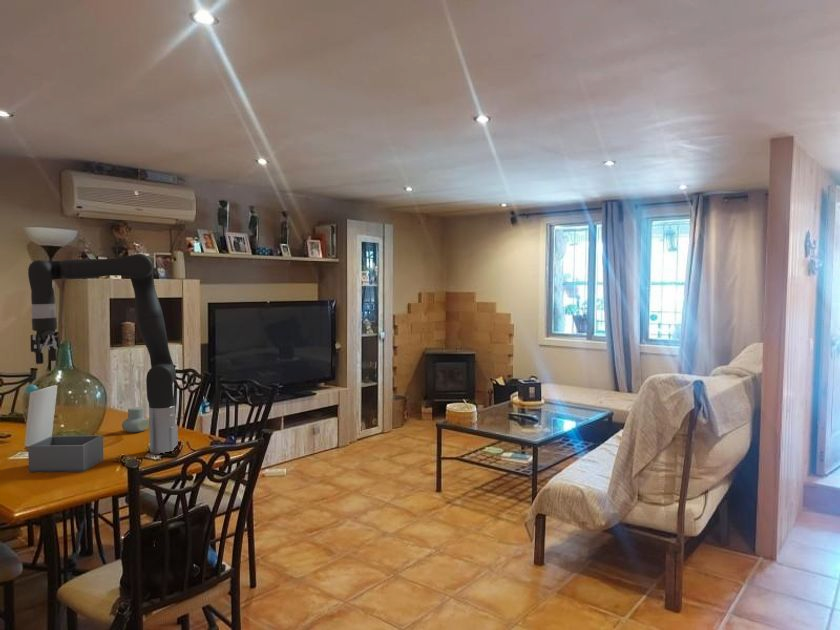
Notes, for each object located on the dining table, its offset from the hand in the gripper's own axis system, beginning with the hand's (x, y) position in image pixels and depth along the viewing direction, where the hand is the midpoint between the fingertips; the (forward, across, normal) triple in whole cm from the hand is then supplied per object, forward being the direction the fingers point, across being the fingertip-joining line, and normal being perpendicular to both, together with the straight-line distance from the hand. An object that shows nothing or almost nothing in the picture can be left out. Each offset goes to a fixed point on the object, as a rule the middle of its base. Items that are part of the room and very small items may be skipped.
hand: (46, 362), depth 213 cm
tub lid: (+17, -6, -1) cm, 18 cm away
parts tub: (+36, -6, -8) cm, 38 cm away
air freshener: (+36, +44, -12) cm, 59 cm away
